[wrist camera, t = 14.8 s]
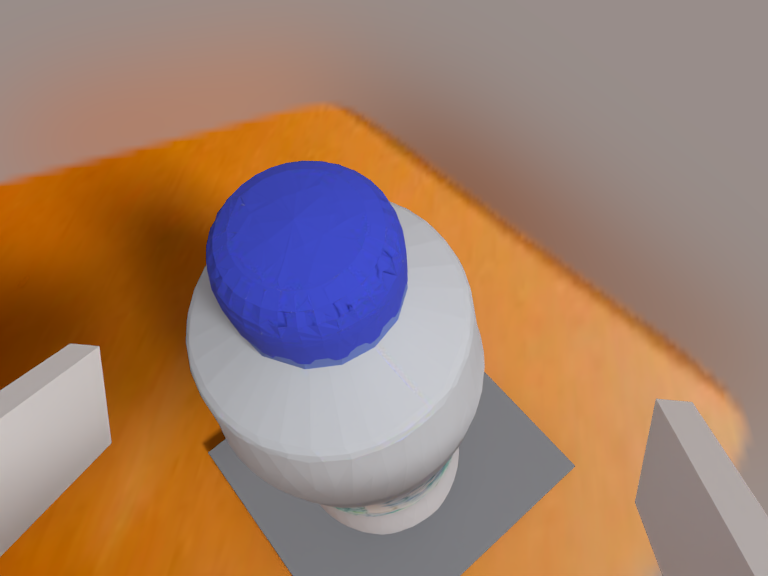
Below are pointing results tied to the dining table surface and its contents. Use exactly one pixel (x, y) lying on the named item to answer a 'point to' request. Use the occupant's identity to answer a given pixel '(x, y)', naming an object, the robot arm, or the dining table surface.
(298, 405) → the bottle
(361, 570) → the mat
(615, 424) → the dining table surface
